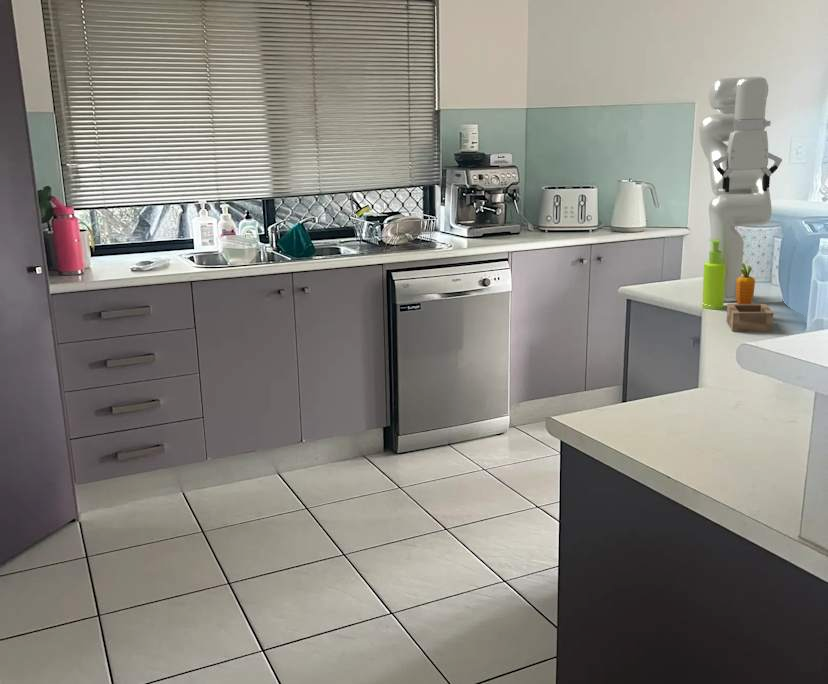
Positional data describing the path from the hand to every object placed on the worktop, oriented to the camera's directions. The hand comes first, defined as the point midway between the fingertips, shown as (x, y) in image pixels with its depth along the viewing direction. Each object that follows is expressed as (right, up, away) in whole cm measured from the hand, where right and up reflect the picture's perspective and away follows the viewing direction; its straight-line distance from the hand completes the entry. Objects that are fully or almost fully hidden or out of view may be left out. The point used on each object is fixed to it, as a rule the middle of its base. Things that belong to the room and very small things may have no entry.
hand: (745, 191), depth 226 cm
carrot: (+4, -33, +12) cm, 36 cm away
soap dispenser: (-1, -30, +23) cm, 38 cm away
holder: (+2, -36, +1) cm, 37 cm away
